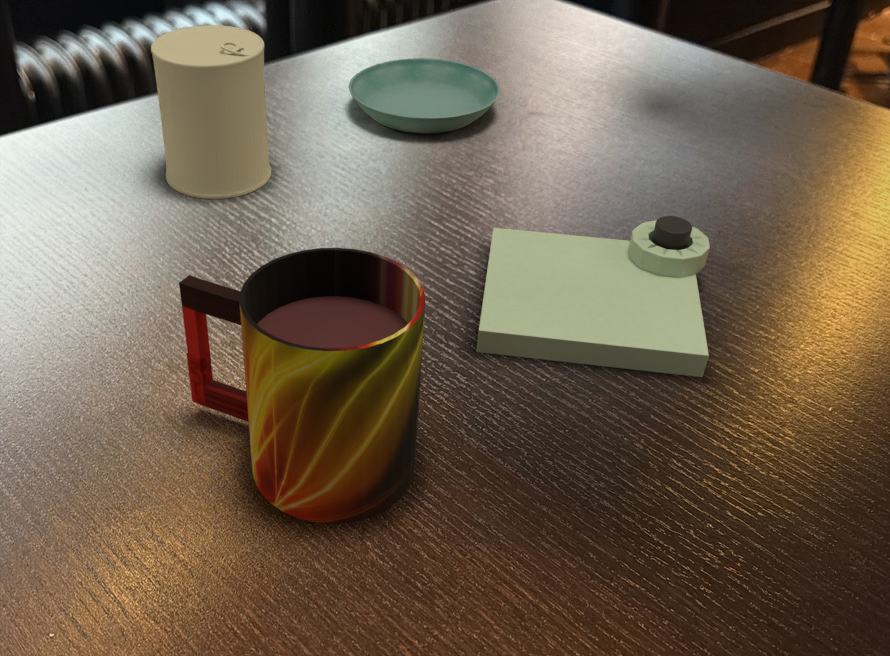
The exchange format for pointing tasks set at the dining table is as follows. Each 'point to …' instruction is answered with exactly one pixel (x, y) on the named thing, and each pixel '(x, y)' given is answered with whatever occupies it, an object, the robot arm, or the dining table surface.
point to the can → (213, 110)
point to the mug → (319, 377)
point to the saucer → (424, 94)
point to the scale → (595, 300)
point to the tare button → (672, 233)
